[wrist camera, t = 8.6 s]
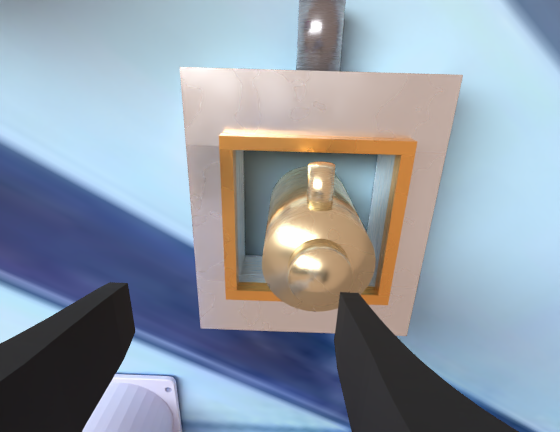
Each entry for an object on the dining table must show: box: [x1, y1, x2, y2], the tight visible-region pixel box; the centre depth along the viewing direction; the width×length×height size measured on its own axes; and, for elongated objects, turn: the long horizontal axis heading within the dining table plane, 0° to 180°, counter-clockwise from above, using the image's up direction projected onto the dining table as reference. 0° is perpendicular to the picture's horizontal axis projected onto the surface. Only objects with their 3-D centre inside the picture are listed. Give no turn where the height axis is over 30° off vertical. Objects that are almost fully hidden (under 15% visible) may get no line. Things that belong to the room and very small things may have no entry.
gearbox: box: [180, 0, 463, 336], centre depth 18 cm, size 17×12×4 cm
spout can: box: [262, 162, 376, 312], centre depth 16 cm, size 6×4×8 cm
